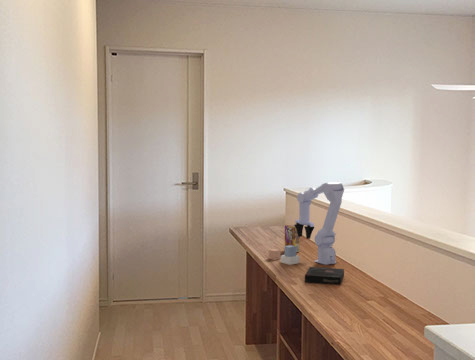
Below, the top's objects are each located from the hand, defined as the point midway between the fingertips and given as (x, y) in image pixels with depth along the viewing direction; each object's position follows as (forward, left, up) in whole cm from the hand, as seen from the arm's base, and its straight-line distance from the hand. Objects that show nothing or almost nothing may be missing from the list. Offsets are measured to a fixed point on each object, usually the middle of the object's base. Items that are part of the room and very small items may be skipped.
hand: (304, 237), depth 317 cm
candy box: (+14, -2, -11) cm, 18 cm away
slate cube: (-9, +16, -7) cm, 19 cm away
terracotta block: (+3, +18, -10) cm, 21 cm away
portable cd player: (-45, +22, -11) cm, 51 cm away
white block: (-9, +16, -11) cm, 21 cm away
